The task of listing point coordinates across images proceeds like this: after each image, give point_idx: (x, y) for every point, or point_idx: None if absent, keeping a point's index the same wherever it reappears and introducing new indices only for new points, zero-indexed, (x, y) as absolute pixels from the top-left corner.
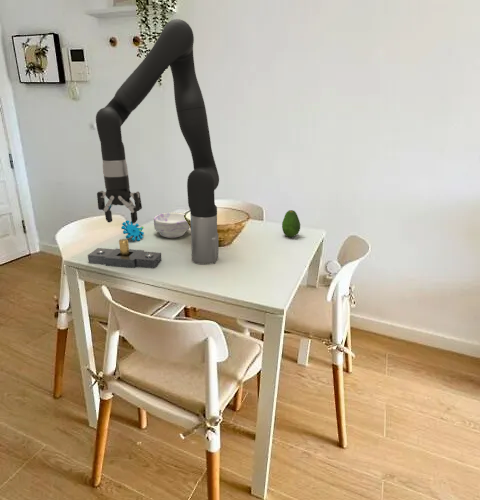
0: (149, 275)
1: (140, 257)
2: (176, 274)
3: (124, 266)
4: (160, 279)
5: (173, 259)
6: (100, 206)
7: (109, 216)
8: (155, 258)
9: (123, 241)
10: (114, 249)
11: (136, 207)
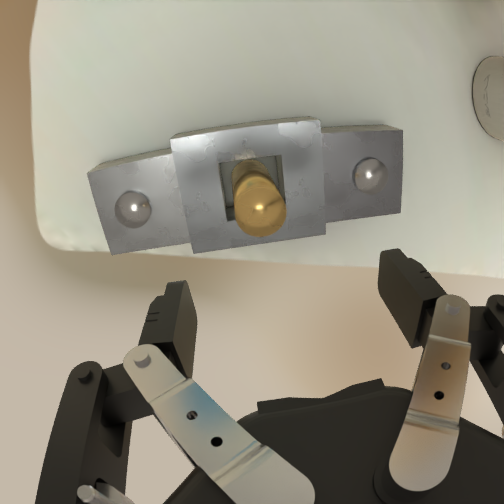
0: None
1: (341, 203)
2: (452, 221)
3: None
4: None
5: (421, 105)
6: (120, 432)
7: (190, 342)
8: (400, 195)
9: (268, 225)
10: (169, 156)
11: (483, 370)
